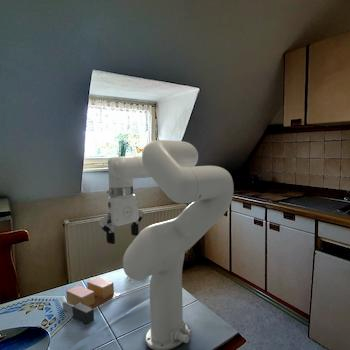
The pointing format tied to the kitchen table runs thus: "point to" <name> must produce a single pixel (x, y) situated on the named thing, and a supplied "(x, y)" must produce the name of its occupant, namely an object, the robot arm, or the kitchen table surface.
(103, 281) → the block
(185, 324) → the robot arm
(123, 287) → the kitchen table surface
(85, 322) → the dark block with blade
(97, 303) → the cake board
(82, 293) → the cake slice
